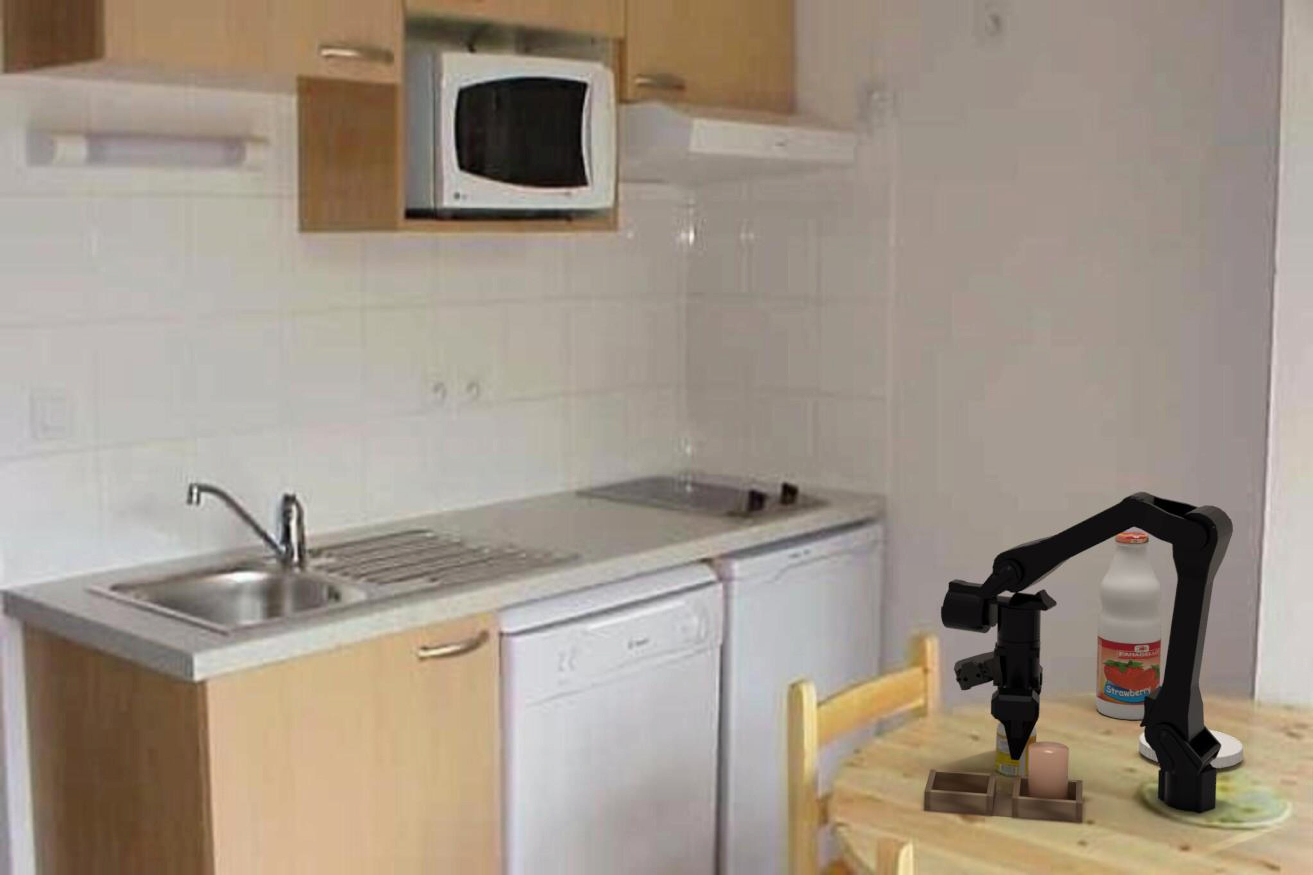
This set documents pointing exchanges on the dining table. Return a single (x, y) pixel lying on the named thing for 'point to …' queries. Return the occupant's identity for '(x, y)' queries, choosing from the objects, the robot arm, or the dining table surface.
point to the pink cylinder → (1048, 770)
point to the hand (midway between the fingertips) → (1016, 748)
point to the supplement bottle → (1003, 755)
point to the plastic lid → (1226, 757)
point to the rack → (997, 797)
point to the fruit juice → (1128, 630)
